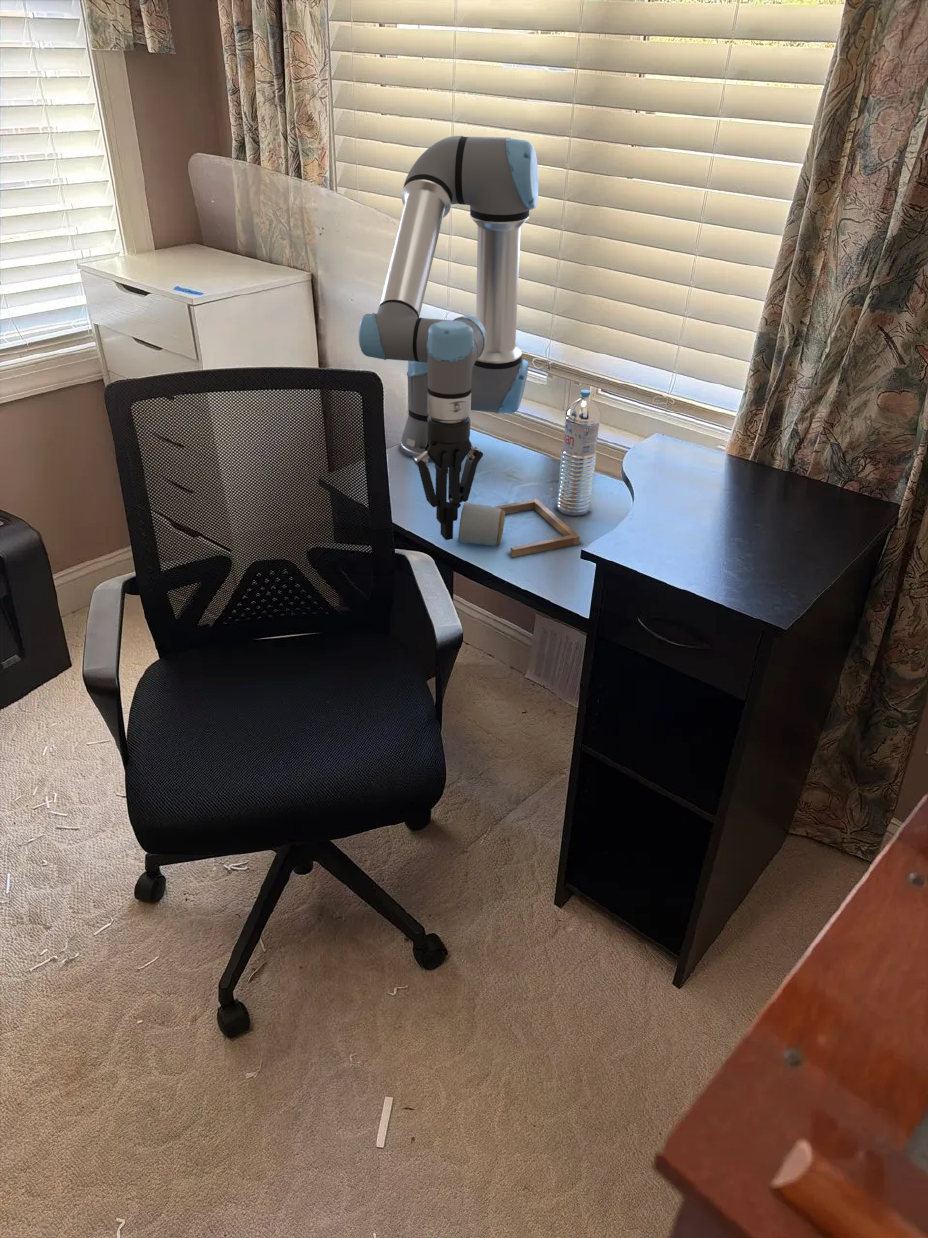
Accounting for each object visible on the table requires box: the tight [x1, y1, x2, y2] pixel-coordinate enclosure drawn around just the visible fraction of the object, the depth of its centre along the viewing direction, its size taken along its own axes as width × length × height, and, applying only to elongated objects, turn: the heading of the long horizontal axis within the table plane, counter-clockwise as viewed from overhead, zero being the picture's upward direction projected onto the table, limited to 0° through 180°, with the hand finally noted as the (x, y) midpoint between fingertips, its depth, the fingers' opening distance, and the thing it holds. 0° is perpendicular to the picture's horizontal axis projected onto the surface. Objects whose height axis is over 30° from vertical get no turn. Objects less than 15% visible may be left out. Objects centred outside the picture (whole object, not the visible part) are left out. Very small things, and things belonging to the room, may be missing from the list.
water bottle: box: [556, 389, 602, 517], centre depth 169 cm, size 7×7×25 cm
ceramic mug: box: [458, 501, 506, 546], centre depth 162 cm, size 11×8×8 cm
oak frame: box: [494, 498, 580, 558], centre depth 167 cm, size 17×14×2 cm
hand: (446, 536), depth 161 cm, fingers closed
